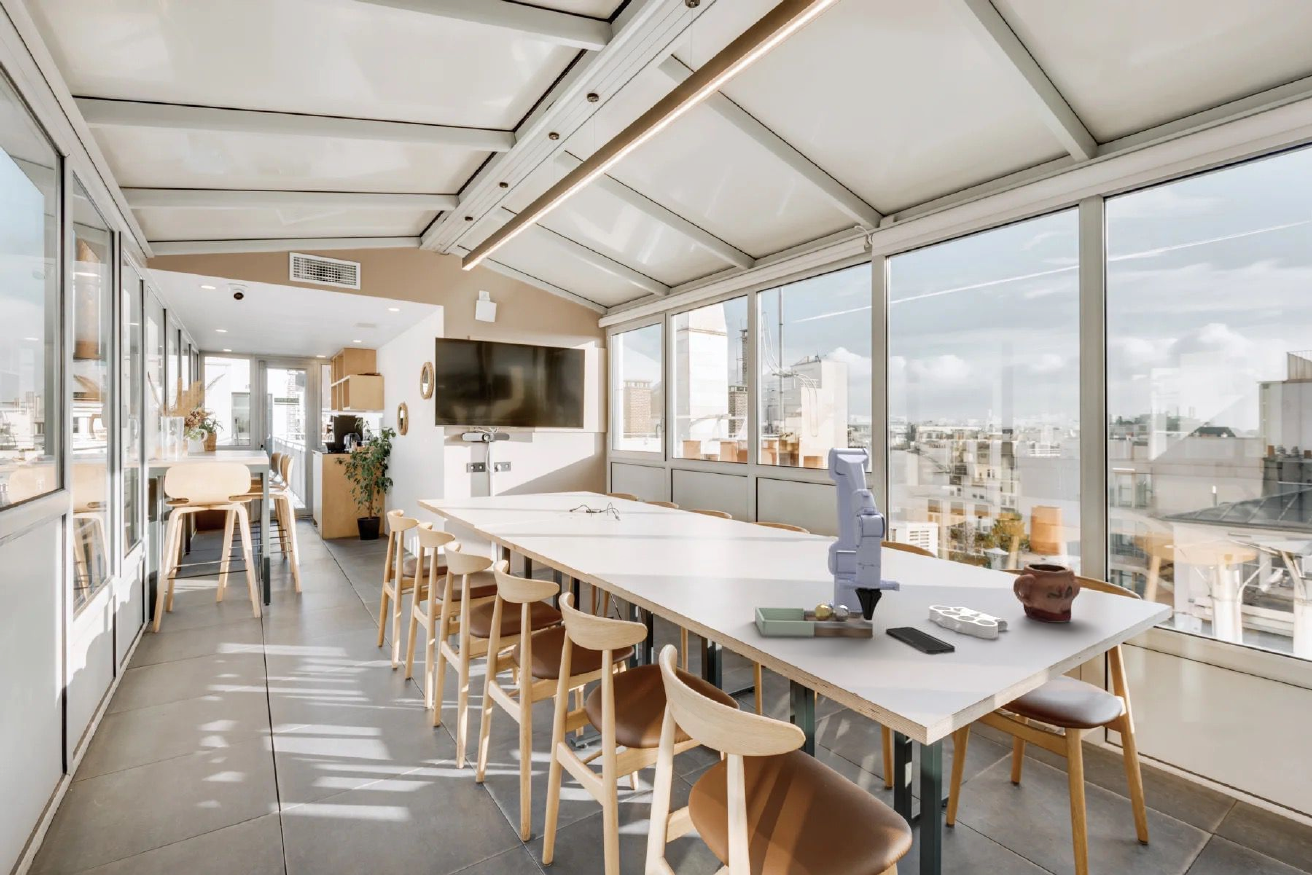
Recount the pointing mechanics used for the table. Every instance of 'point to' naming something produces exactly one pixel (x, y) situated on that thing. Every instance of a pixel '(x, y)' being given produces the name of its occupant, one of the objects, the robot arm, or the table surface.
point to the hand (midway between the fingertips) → (867, 619)
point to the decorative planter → (1047, 591)
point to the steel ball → (841, 613)
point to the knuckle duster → (967, 621)
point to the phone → (920, 640)
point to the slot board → (840, 625)
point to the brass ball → (822, 613)
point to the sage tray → (783, 622)
